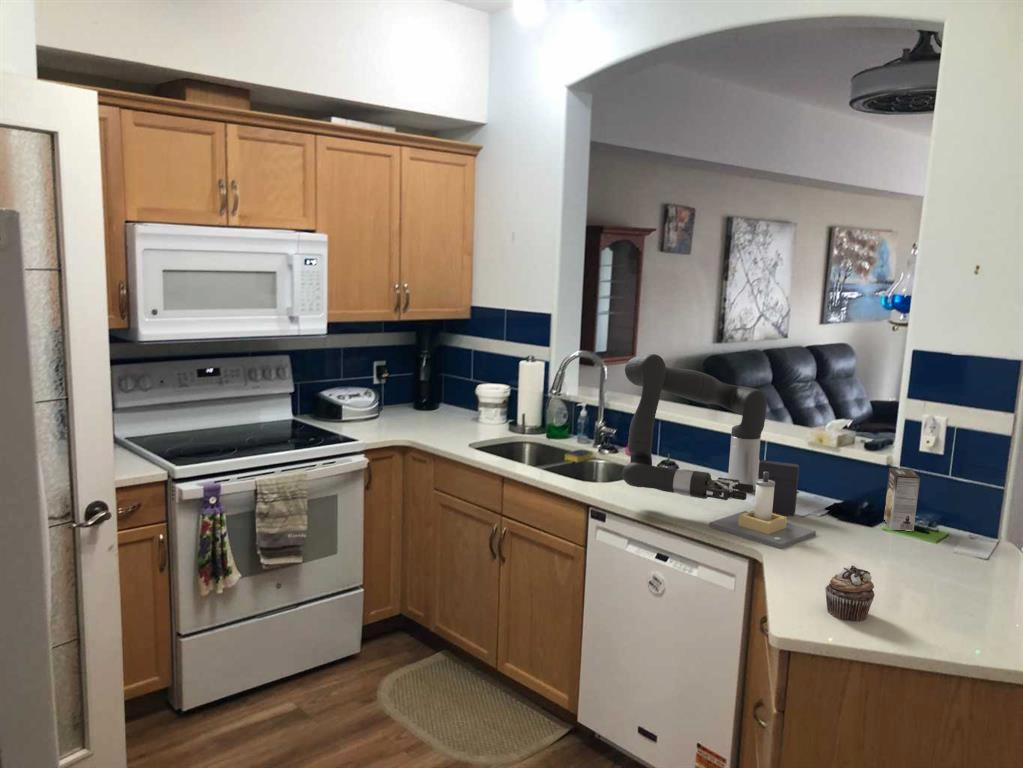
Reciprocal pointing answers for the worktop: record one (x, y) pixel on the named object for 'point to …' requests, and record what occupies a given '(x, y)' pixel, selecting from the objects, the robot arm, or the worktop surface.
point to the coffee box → (901, 499)
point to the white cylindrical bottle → (764, 498)
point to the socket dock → (763, 529)
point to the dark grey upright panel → (782, 485)
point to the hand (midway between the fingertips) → (749, 492)
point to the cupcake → (850, 594)
